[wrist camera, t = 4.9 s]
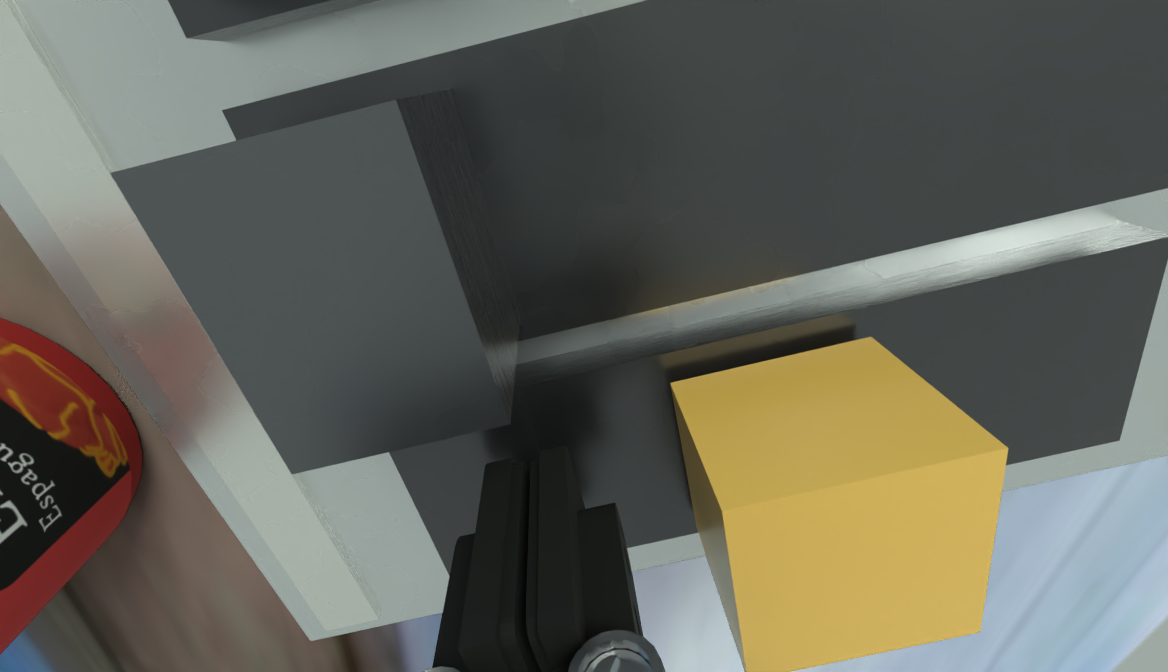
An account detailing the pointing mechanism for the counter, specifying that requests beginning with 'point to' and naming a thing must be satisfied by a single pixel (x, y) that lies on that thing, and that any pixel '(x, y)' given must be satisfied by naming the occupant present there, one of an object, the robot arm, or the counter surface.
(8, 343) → the canned food
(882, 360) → the mustard yellow cube
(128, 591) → the counter surface
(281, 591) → the panel
